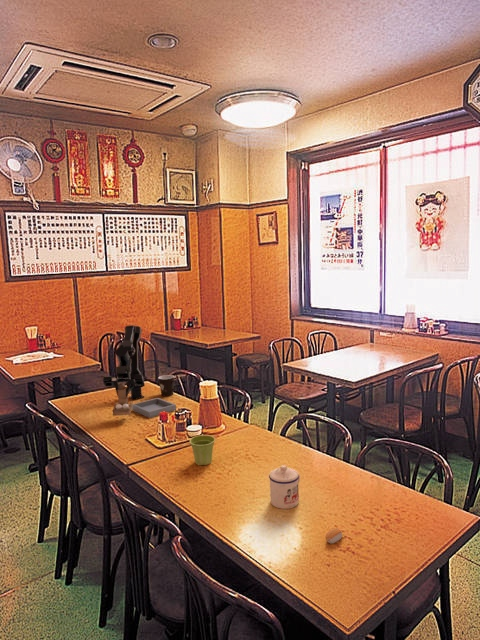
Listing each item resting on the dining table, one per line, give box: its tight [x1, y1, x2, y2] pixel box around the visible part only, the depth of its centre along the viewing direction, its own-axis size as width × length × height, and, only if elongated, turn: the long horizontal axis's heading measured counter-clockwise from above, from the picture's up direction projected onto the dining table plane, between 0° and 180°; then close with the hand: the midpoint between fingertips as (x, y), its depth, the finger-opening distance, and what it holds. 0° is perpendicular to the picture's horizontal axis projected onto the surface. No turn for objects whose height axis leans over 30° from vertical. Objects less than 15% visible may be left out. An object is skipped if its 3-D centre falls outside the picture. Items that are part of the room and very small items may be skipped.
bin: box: [131, 397, 177, 419], centre depth 241 cm, size 17×15×3 cm
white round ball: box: [122, 403, 129, 409], centre depth 226 cm, size 3×3×3 cm
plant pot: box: [189, 434, 216, 466], centre depth 179 cm, size 9×9×9 cm
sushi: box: [325, 527, 343, 545], centre depth 129 cm, size 3×6×3 cm, turn 132°
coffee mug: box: [157, 374, 178, 397], centre depth 265 cm, size 12×9×10 cm
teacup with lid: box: [268, 464, 301, 510], centre depth 149 cm, size 12×9×12 cm
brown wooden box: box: [112, 382, 134, 417], centre depth 227 cm, size 9×8×12 cm
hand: (122, 396), depth 228 cm, fingers closed on brown wooden box, 4 cm apart
